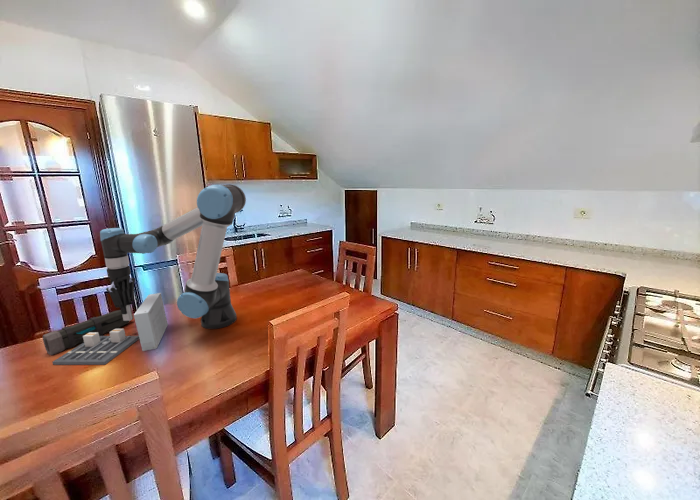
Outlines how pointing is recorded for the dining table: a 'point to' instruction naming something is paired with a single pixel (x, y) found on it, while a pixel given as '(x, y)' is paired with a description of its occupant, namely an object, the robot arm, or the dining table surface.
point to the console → (95, 352)
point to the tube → (82, 331)
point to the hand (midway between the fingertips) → (127, 319)
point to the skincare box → (151, 321)
